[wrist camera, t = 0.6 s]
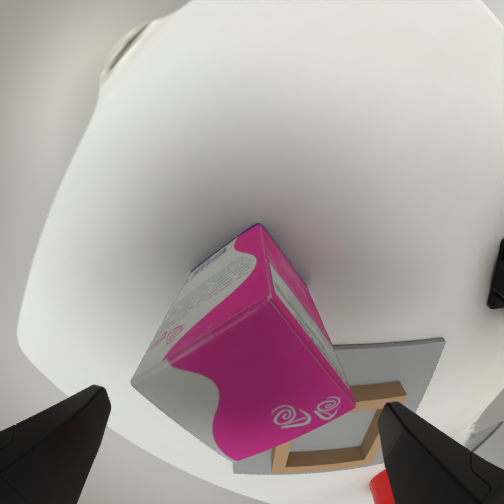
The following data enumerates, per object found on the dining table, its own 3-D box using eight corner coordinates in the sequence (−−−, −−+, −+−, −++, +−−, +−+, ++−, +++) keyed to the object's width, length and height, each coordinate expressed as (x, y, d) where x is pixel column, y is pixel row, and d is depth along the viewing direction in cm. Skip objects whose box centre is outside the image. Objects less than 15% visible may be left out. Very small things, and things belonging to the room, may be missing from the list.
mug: (443, 460, 26) (461, 495, 19) (371, 493, 28) (382, 532, 20) (448, 437, 24) (471, 476, 17) (367, 475, 26) (380, 521, 18)
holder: (442, 337, 20) (457, 352, 18) (384, 459, 25) (390, 474, 22) (234, 343, 20) (231, 364, 18) (233, 469, 25) (232, 487, 22)
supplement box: (242, 333, 20) (229, 467, 9) (189, 270, 19) (117, 378, 8) (311, 290, 19) (361, 411, 8) (259, 219, 18) (262, 286, 7)
